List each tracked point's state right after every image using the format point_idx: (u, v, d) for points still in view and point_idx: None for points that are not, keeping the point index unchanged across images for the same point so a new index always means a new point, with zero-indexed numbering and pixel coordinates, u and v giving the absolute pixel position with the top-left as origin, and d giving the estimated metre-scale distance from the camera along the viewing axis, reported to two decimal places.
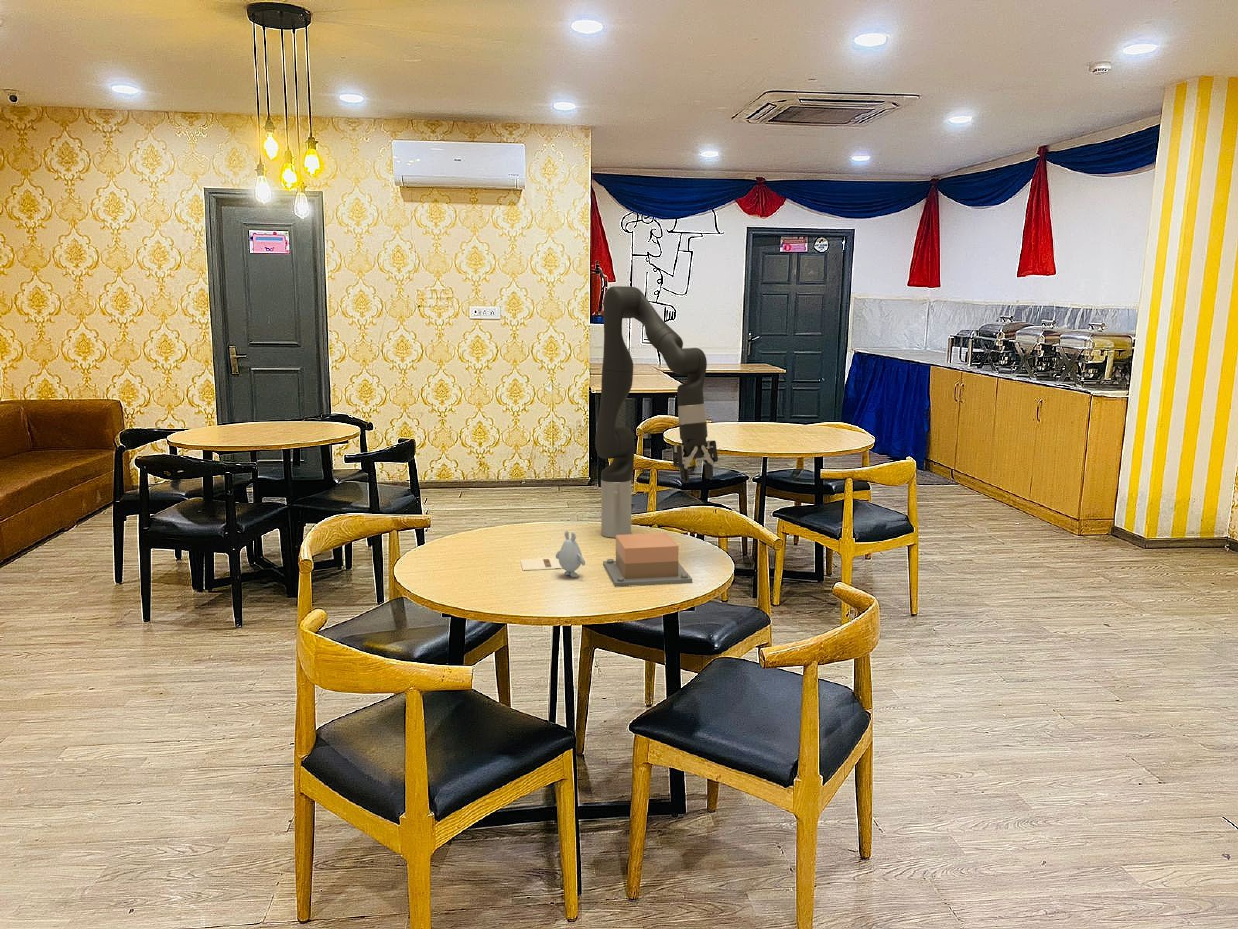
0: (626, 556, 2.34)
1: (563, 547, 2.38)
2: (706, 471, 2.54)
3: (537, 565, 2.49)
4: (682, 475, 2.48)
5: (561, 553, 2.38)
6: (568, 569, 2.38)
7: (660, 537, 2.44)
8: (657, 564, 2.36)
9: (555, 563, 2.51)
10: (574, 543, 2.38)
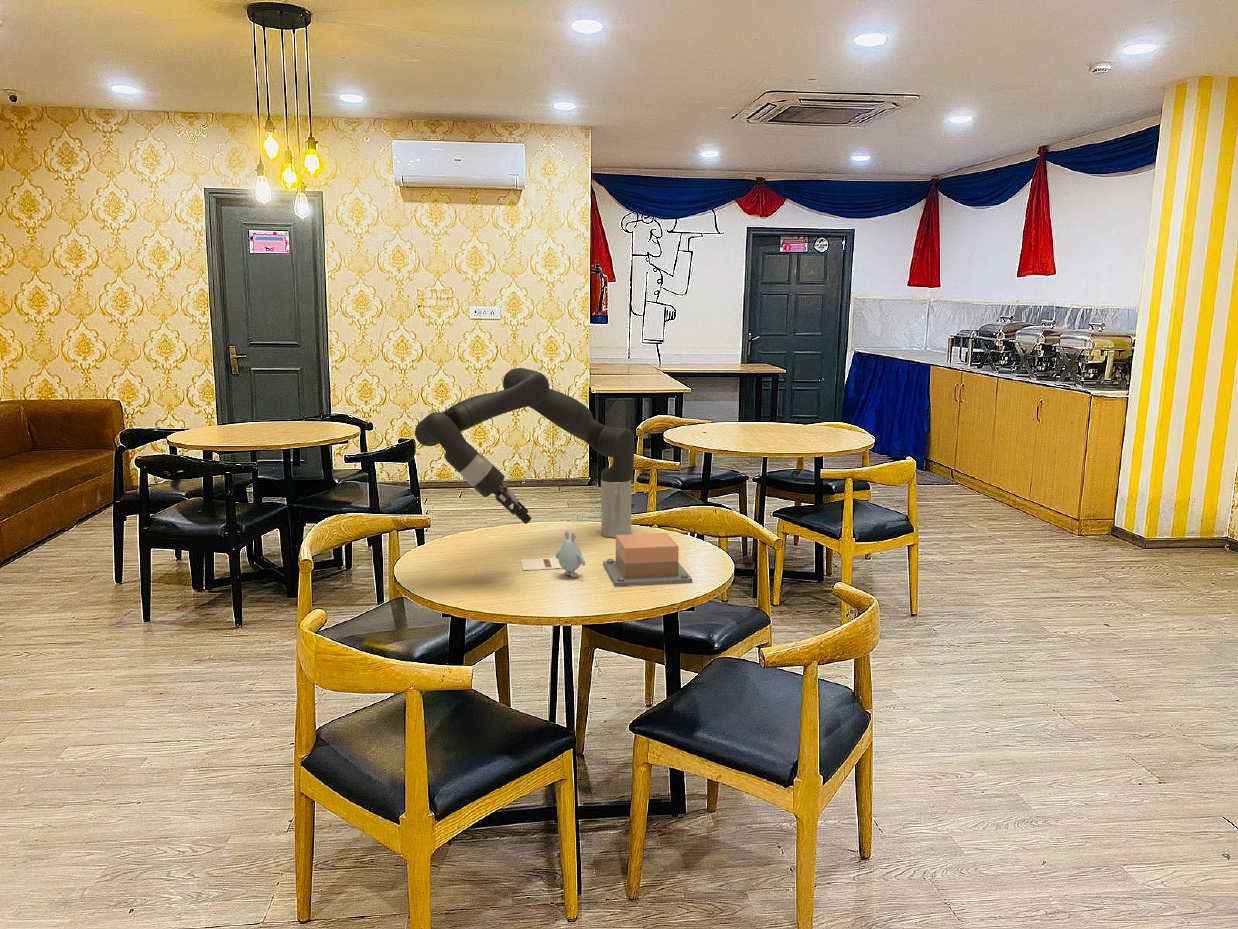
0: (626, 556, 2.34)
1: (563, 547, 2.38)
2: None
3: (537, 565, 2.49)
4: None
5: (561, 553, 2.38)
6: (568, 569, 2.38)
7: (660, 537, 2.44)
8: (657, 564, 2.36)
9: (555, 563, 2.51)
10: (574, 543, 2.38)
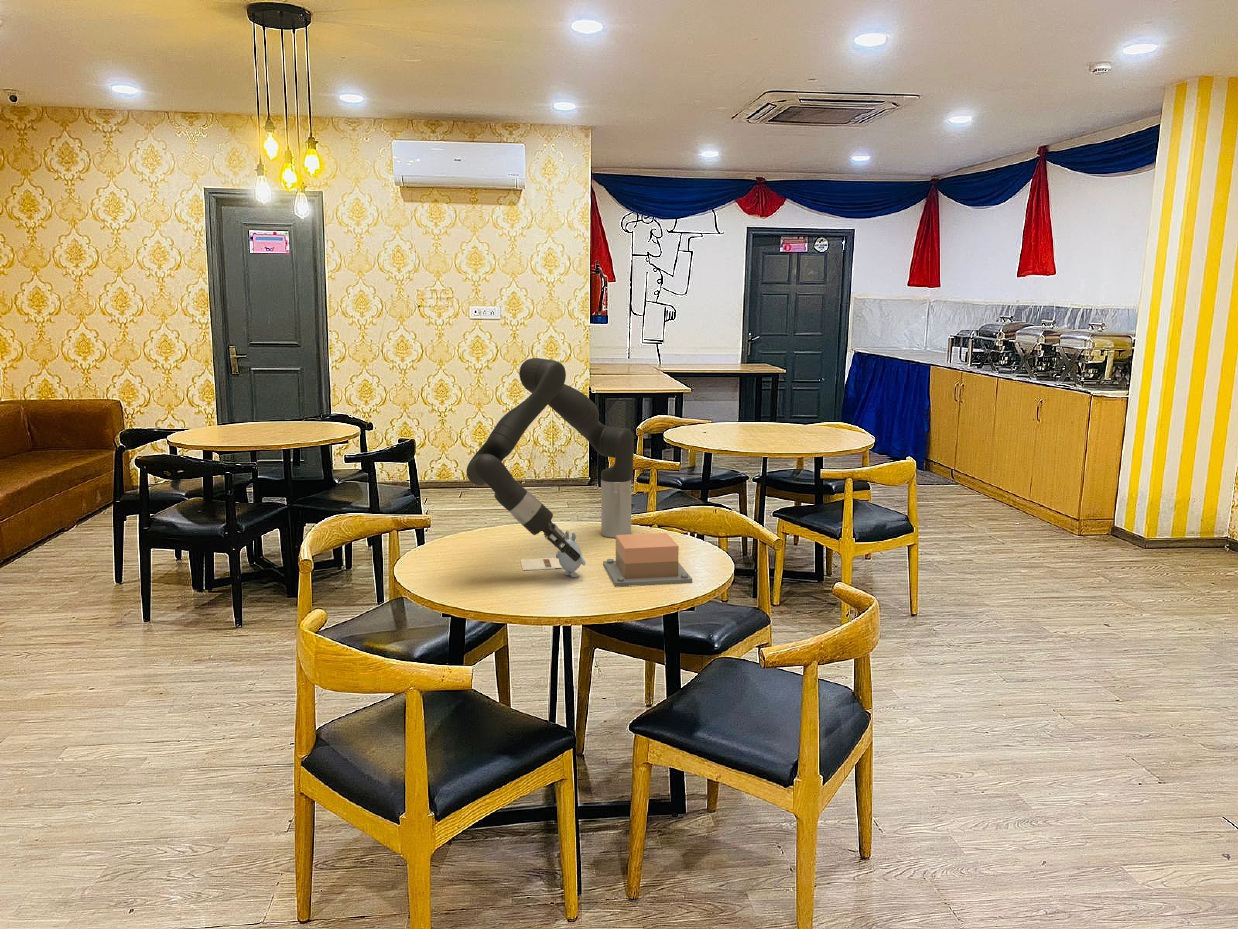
0: (626, 556, 2.34)
1: None
2: None
3: (537, 565, 2.49)
4: None
5: (561, 553, 2.38)
6: (568, 569, 2.38)
7: (660, 537, 2.44)
8: (657, 564, 2.36)
9: (555, 563, 2.51)
10: (574, 543, 2.38)
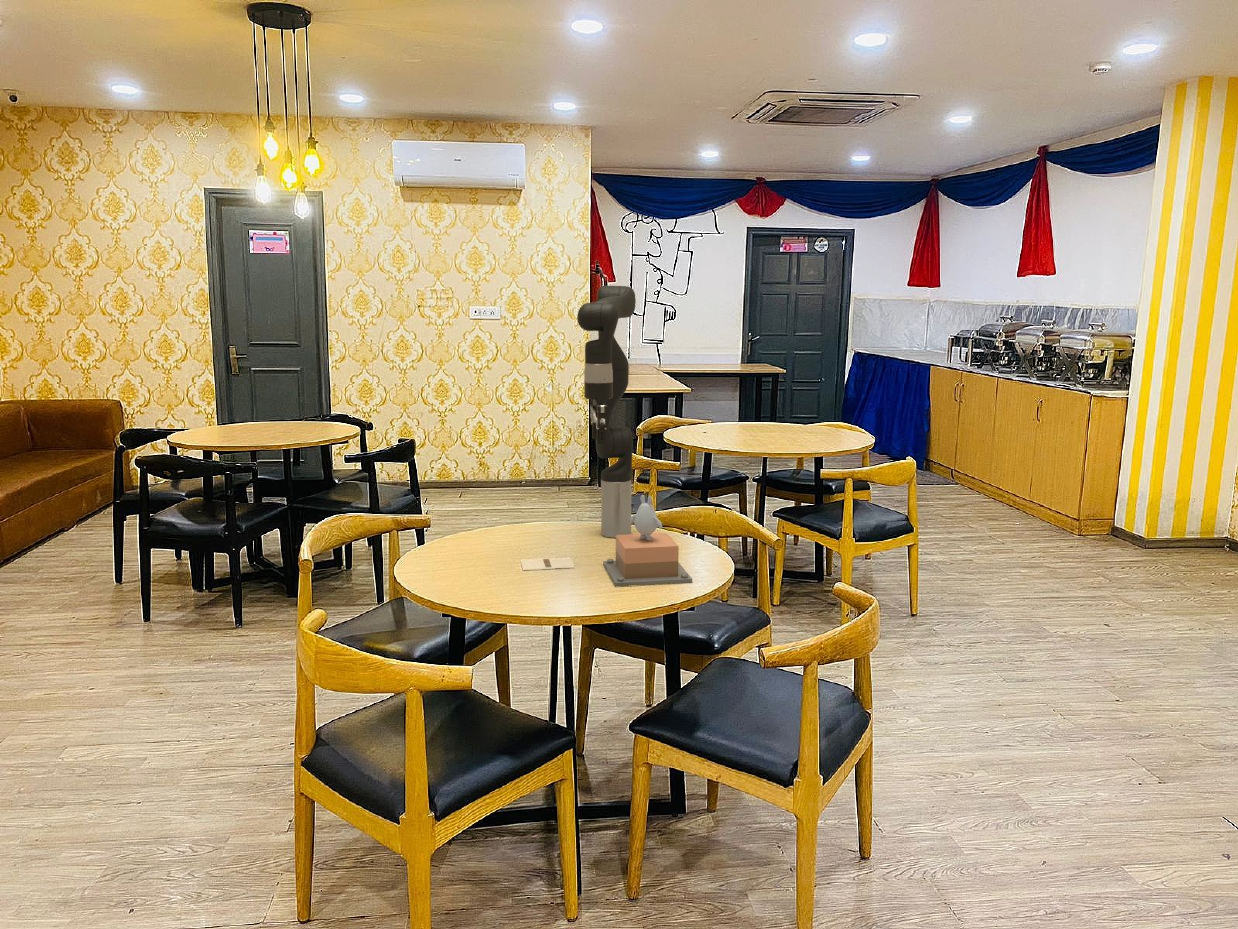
0: (626, 556, 2.34)
1: (640, 511, 2.39)
2: None
3: (537, 565, 2.49)
4: None
5: (638, 517, 2.39)
6: (645, 532, 2.39)
7: (660, 537, 2.44)
8: (657, 564, 2.36)
9: (555, 563, 2.51)
10: (650, 507, 2.39)
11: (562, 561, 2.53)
